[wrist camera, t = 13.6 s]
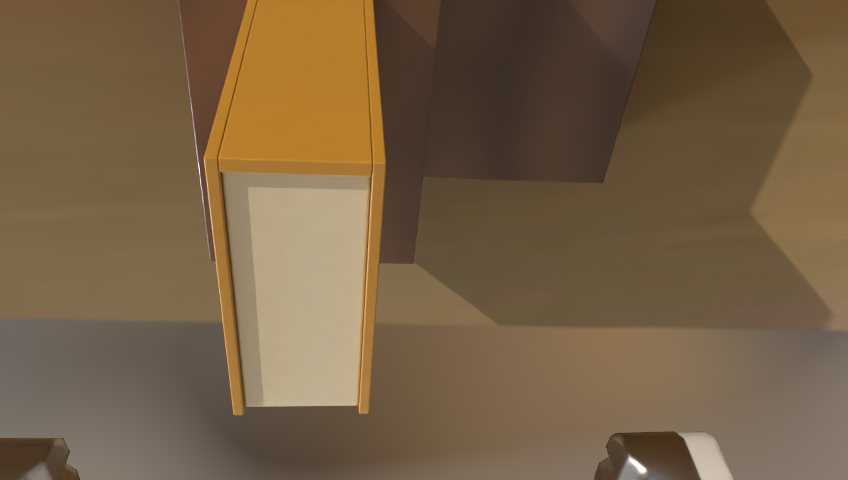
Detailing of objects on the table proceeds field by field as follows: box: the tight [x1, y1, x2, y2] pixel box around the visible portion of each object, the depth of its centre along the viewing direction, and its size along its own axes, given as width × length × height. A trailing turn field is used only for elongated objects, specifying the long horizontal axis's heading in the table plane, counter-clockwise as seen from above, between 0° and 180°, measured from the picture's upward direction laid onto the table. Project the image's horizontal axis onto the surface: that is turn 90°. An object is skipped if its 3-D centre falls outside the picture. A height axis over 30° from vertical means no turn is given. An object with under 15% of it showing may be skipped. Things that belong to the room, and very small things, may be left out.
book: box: [204, 0, 386, 415], centre depth 23 cm, size 4×9×11 cm, turn 175°
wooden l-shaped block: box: [178, 0, 657, 264], centre depth 32 cm, size 20×16×11 cm
